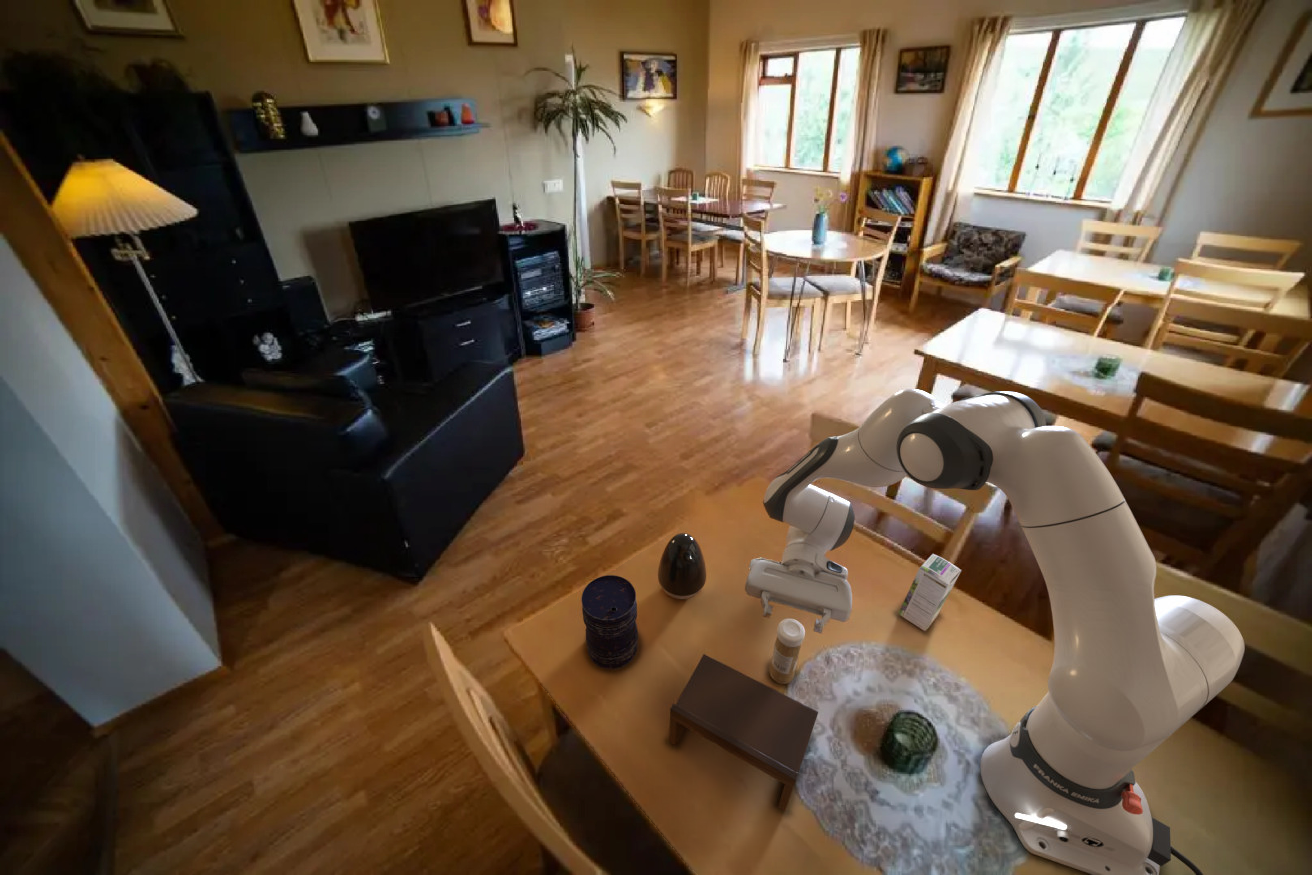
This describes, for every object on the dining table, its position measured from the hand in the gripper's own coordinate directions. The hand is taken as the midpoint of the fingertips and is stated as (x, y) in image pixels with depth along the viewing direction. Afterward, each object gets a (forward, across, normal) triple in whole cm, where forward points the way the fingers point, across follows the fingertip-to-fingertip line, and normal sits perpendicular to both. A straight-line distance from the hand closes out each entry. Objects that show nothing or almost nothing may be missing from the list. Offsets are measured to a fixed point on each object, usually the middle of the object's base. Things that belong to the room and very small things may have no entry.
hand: (792, 622), depth 99 cm
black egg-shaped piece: (-6, -23, +7) cm, 25 cm away
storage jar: (+12, -32, +7) cm, 34 cm away
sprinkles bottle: (+6, 0, +7) cm, 9 cm away
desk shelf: (+21, -5, +7) cm, 22 cm away
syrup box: (-16, +24, +7) cm, 30 cm away
